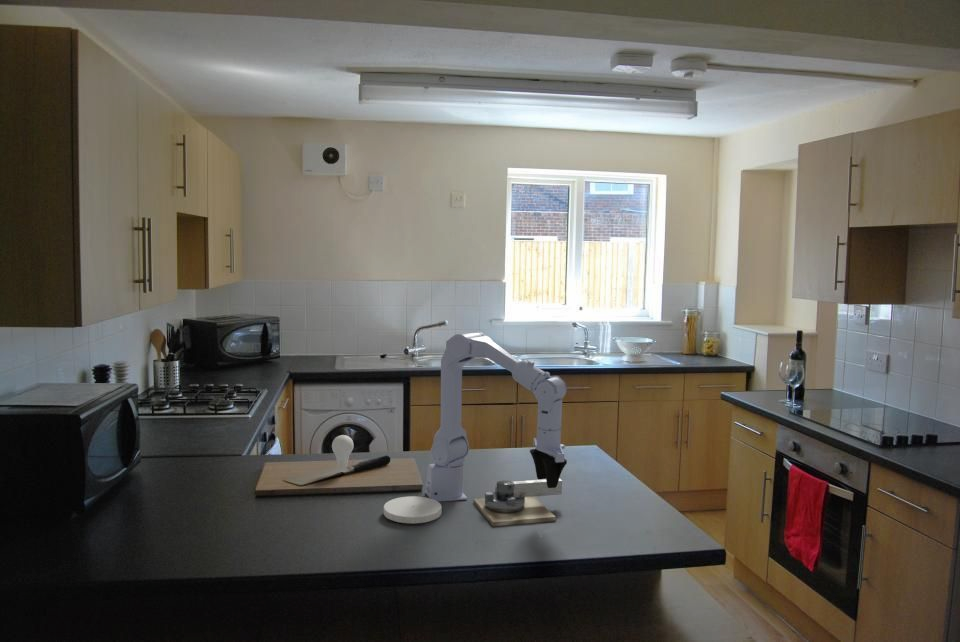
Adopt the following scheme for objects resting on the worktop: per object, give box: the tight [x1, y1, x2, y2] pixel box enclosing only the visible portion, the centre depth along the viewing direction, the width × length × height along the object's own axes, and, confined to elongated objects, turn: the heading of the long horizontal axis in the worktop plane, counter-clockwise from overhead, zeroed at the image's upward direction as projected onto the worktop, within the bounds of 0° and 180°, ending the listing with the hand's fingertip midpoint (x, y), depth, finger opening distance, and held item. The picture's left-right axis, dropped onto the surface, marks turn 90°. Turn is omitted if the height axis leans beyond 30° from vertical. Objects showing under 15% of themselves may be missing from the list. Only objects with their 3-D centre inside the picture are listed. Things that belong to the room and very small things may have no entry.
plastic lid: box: [383, 495, 443, 525], centre depth 171 cm, size 14×14×2 cm
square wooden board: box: [473, 496, 557, 527], centre depth 176 cm, size 16×17×1 cm
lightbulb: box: [331, 434, 355, 469], centre depth 201 cm, size 6×6×11 cm
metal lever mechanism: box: [484, 477, 563, 513], centre depth 177 cm, size 20×10×6 cm, turn 107°
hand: (546, 483), depth 169 cm, fingers open, 6 cm apart
